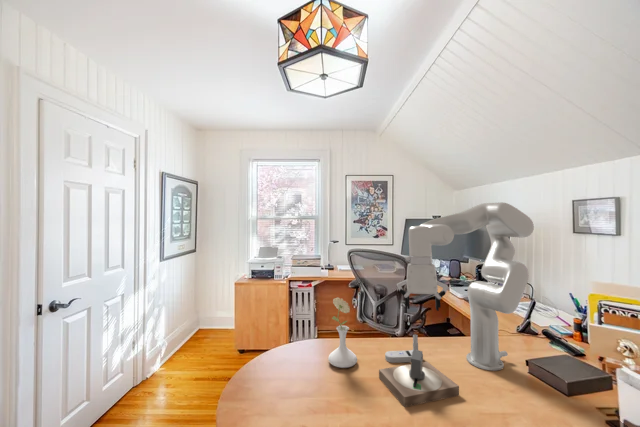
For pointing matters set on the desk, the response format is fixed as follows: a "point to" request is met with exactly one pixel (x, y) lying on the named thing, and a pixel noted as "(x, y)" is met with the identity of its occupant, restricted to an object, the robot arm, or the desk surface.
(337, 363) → the flower in vase
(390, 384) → the board
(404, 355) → the electronic device
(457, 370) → the desk surface
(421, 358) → the dark grey boxy piece
